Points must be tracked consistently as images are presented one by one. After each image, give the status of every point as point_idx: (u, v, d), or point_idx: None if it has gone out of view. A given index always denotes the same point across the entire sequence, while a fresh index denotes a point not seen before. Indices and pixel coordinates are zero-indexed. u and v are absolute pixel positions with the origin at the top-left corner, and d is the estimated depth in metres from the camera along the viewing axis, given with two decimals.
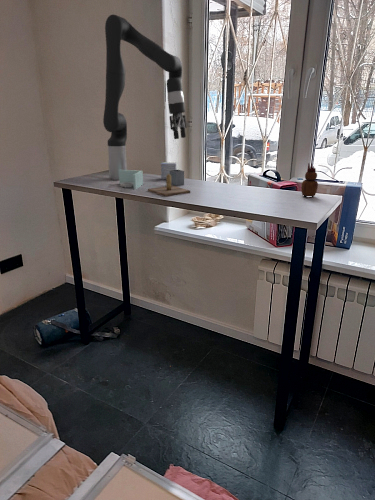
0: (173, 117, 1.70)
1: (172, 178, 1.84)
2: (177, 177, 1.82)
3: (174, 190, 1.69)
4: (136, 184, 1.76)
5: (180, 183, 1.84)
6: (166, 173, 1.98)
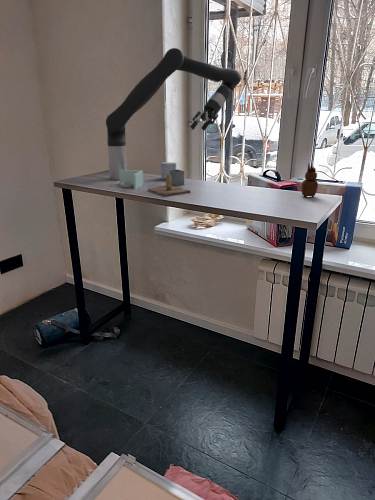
0: (217, 115, 1.81)
1: (172, 178, 1.84)
2: (177, 177, 1.82)
3: (174, 190, 1.69)
4: (136, 184, 1.76)
5: (180, 183, 1.84)
6: (166, 173, 1.98)
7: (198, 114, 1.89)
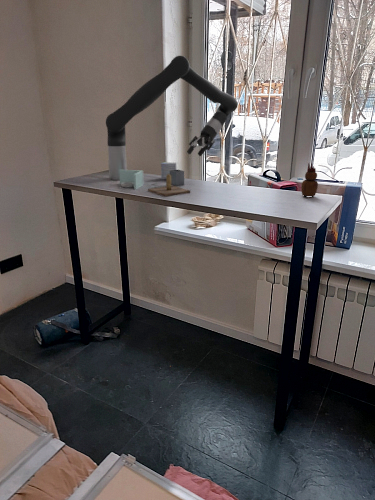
0: (213, 141, 1.85)
1: (172, 178, 1.84)
2: (177, 177, 1.82)
3: (174, 190, 1.69)
4: (136, 184, 1.75)
5: (180, 183, 1.84)
6: (166, 173, 1.98)
7: (195, 139, 1.93)
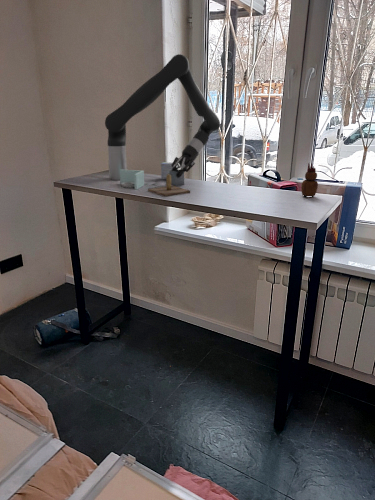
0: (193, 163, 1.81)
1: (172, 178, 1.84)
2: (177, 177, 1.82)
3: (174, 190, 1.69)
4: (137, 184, 1.75)
5: (180, 183, 1.84)
6: (166, 173, 1.98)
7: (176, 160, 1.88)
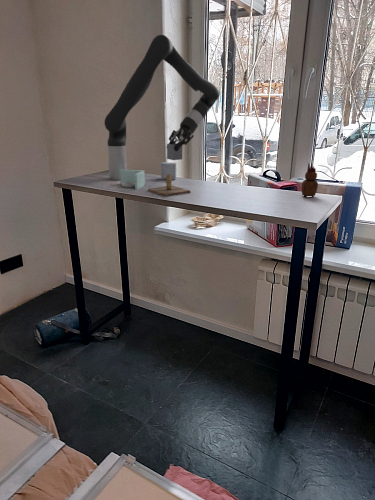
0: (192, 136, 1.71)
1: (170, 152, 1.73)
2: None
3: (174, 190, 1.69)
4: (138, 184, 1.75)
5: (178, 157, 1.74)
6: (166, 173, 1.98)
7: (174, 133, 1.78)
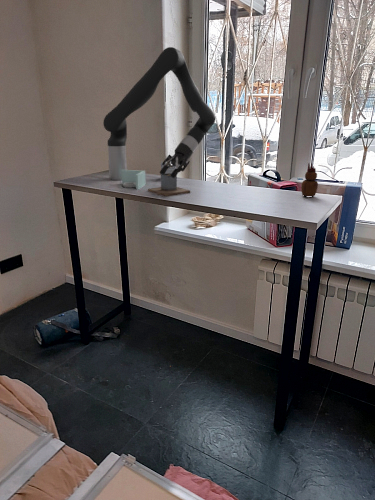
0: (188, 162, 1.64)
1: (164, 183, 1.68)
2: (169, 181, 1.66)
3: (174, 190, 1.69)
4: (138, 184, 1.75)
5: (172, 188, 1.68)
6: (166, 173, 1.98)
7: (168, 158, 1.72)
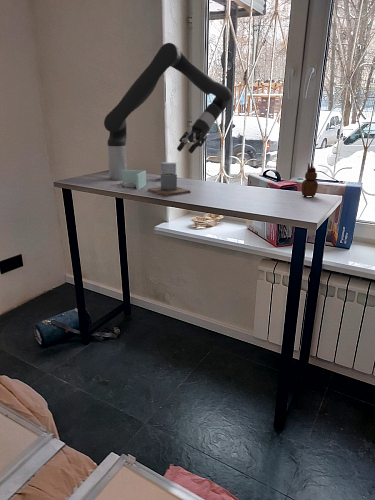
0: (206, 137, 1.67)
1: (164, 183, 1.68)
2: (169, 181, 1.66)
3: (174, 190, 1.69)
4: (139, 184, 1.75)
5: (172, 188, 1.68)
6: (166, 173, 1.98)
7: (185, 135, 1.75)
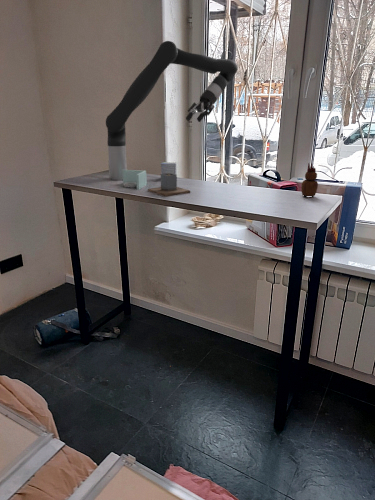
0: (213, 106, 1.77)
1: (164, 183, 1.68)
2: (169, 181, 1.66)
3: (174, 190, 1.69)
4: (139, 184, 1.75)
5: (172, 188, 1.68)
6: (166, 173, 1.98)
7: (194, 105, 1.85)
